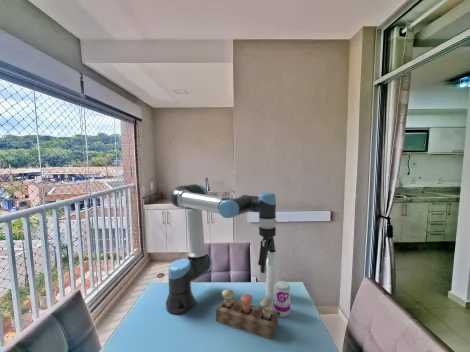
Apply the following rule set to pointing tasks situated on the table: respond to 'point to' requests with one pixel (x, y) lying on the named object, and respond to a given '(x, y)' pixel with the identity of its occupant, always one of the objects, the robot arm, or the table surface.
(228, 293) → the maple plug
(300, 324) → the table surface
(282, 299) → the supplement can
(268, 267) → the bottle
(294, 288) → the table surface
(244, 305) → the brick-red plug
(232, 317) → the socket board
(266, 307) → the maple plug
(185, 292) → the robot arm
